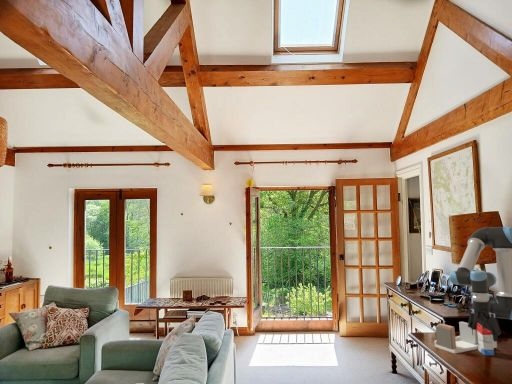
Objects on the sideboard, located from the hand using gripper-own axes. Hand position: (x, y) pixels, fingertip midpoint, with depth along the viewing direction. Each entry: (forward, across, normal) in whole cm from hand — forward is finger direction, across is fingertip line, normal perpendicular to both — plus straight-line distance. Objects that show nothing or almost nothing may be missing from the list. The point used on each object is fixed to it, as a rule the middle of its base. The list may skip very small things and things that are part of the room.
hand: (485, 344), depth 192 cm
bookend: (+2, -13, +4) cm, 14 cm away
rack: (+4, -13, -4) cm, 14 cm away
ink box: (+4, 0, 0) cm, 4 cm away
